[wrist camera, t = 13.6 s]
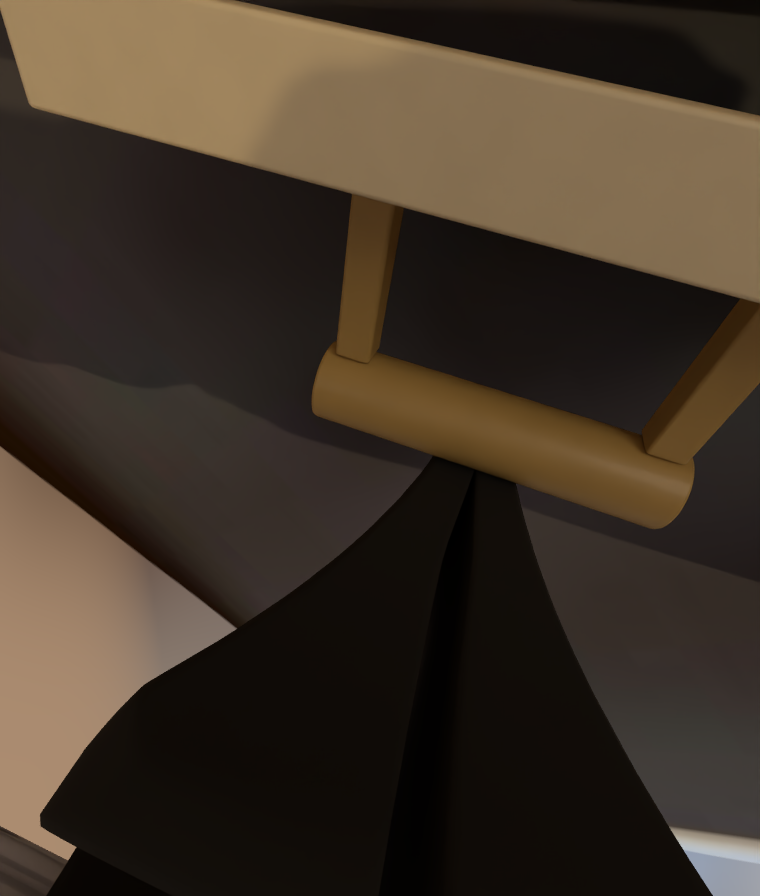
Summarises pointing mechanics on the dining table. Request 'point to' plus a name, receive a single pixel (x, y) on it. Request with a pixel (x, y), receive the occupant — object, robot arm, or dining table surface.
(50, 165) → the dining table surface
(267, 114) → the drawer
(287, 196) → the dining table surface
